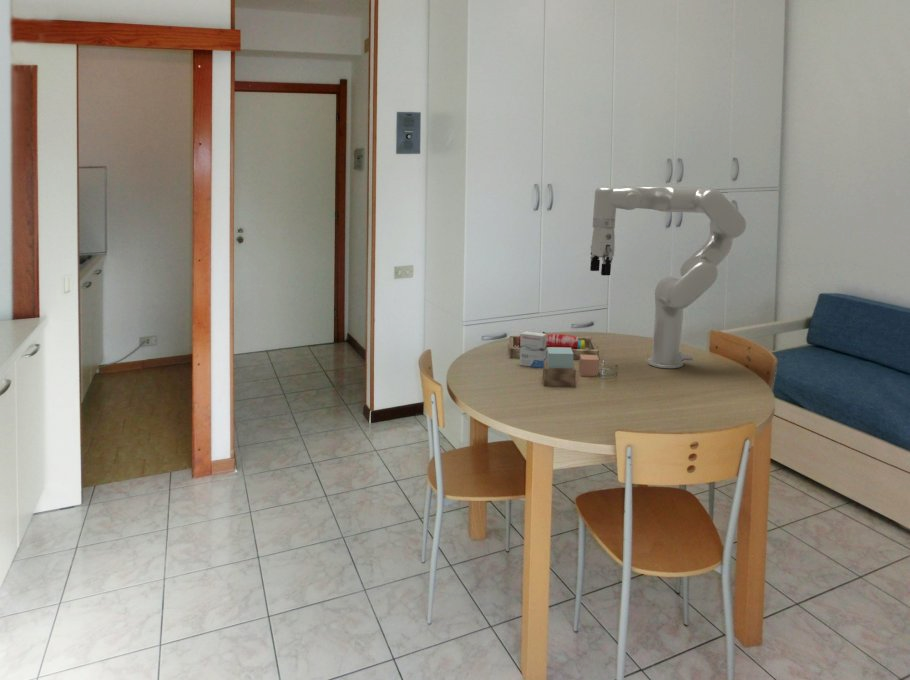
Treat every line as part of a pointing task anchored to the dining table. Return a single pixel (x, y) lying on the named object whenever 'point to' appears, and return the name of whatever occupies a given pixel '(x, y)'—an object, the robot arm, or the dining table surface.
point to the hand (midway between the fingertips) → (599, 273)
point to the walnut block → (558, 376)
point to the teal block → (559, 357)
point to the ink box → (532, 349)
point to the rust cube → (588, 365)
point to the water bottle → (563, 341)
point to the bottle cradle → (516, 351)
